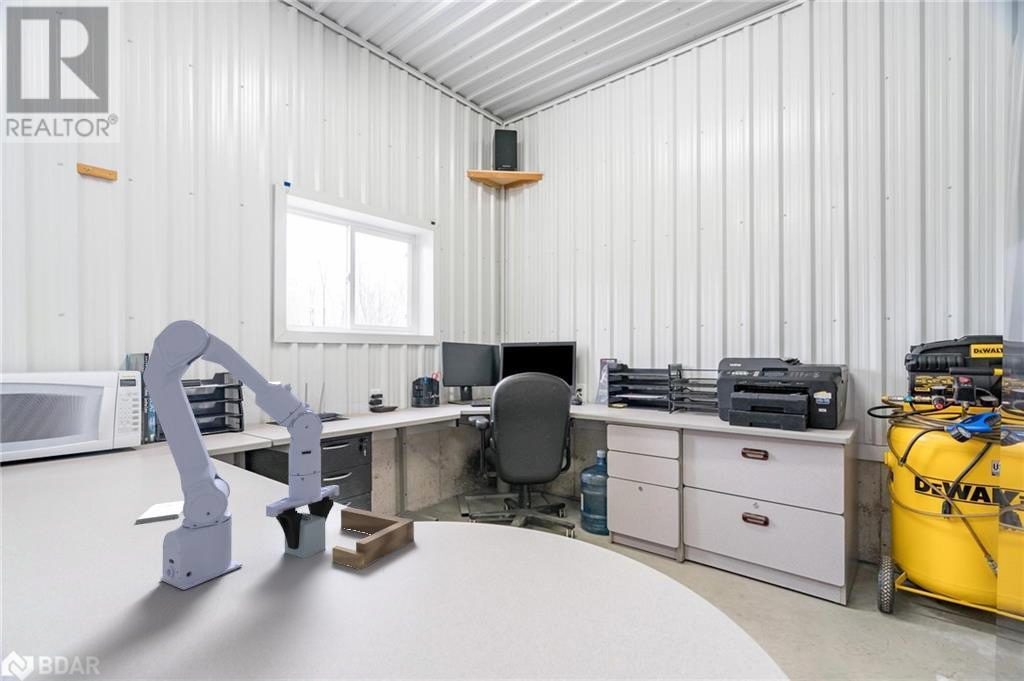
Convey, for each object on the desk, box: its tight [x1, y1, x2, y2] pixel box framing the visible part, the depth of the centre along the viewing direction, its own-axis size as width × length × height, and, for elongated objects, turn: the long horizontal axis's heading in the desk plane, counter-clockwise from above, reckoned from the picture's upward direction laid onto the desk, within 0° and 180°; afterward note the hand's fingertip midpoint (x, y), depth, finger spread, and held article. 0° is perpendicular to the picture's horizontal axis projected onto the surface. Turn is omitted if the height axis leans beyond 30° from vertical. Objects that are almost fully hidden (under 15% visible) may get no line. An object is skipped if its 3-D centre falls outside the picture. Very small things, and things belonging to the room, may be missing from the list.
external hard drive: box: [135, 500, 184, 525], centre depth 110 cm, size 2×8×12 cm
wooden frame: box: [331, 506, 415, 570], centre depth 88 cm, size 14×19×4 cm
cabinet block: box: [284, 511, 327, 559], centre depth 86 cm, size 4×6×7 cm
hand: (305, 543), depth 86 cm, fingers closed on cabinet block, 4 cm apart
